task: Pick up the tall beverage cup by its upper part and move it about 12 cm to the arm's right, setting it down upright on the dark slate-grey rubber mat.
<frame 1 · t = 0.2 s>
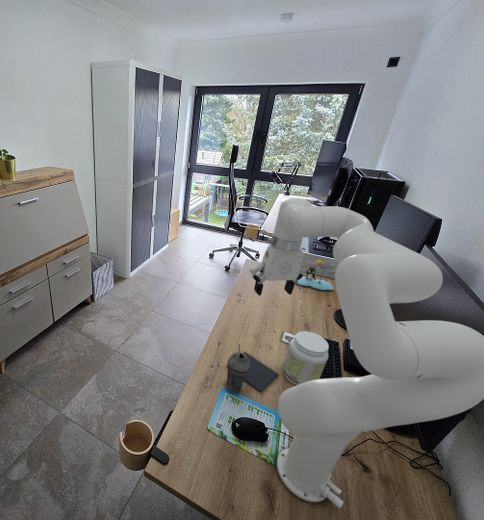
hand: (272, 292, 90), 37 cm above the table, tool pointing down, fingers open, 9 cm apart
supplement tub: (298, 375, 107), on the table
penguin figurine: (312, 285, 164), on the table
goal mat: (252, 371, 109), on the table
beverage cup: (233, 388, 102), on the table
car cutout: (301, 344, 122), on the table
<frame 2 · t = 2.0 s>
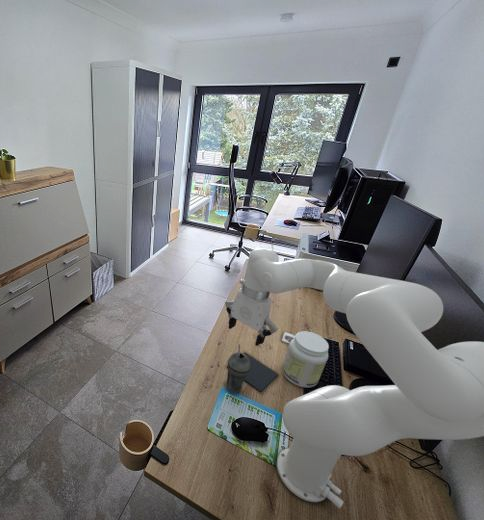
hand: (244, 335, 91), 24 cm above the table, tool pointing down, fingers open, 9 cm apart
nothing on the table moved.
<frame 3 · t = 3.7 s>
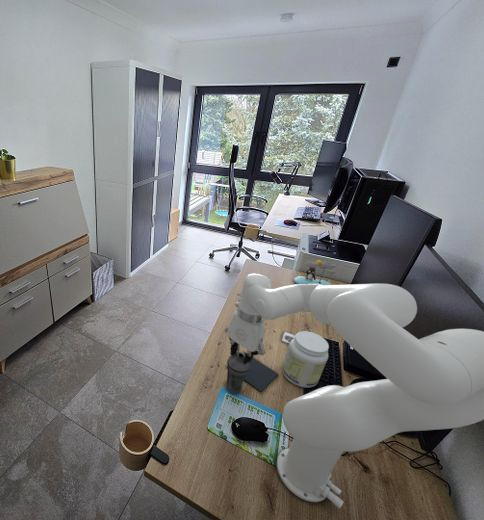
hand: (240, 356, 95), 15 cm above the table, tool pointing down, fingers closed on beverage cup, 4 cm apart
beverage cup: (233, 388, 102), on the table, touching gripper
everything else where it was.
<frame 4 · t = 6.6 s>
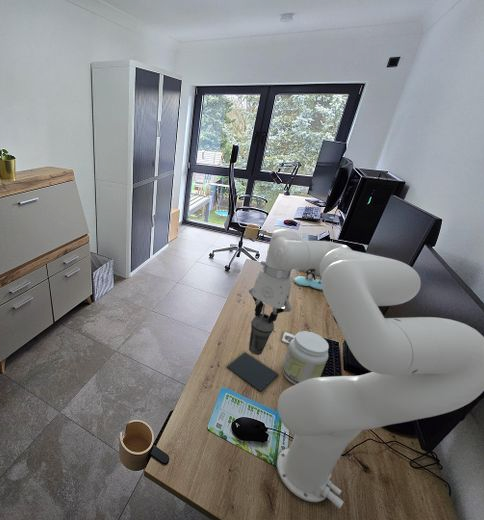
hand: (264, 317, 96), 26 cm above the table, tool pointing down, fingers closed on beverage cup, 4 cm apart
beverage cup: (255, 350, 103), point 11 cm above the table, touching gripper
everything else where it was.
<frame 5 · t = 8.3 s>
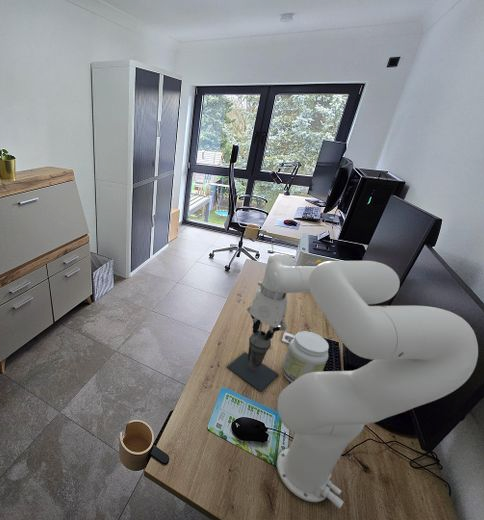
hand: (261, 334, 101), 18 cm above the table, tool pointing down, fingers closed on beverage cup, 4 cm apart
beverage cup: (253, 365, 108), point 3 cm above the table, touching gripper
everything else where it was.
when the fingers open (15 cm above the table, at t = 9.4 s): beverage cup stays where it is, resting on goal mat.
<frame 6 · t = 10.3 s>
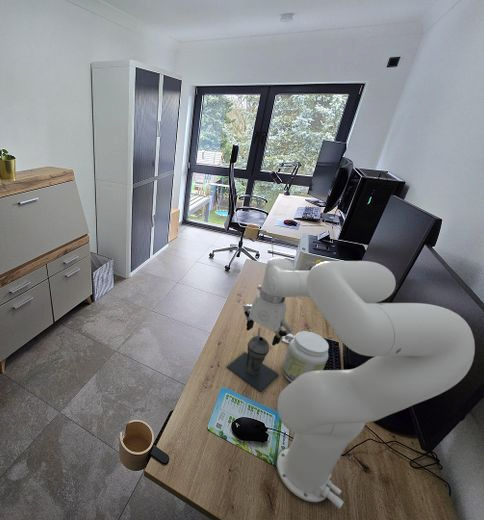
hand: (261, 336, 101), 17 cm above the table, tool pointing down, fingers open, 9 cm apart
beverage cup: (252, 370, 109), resting on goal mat
everything else where it was.
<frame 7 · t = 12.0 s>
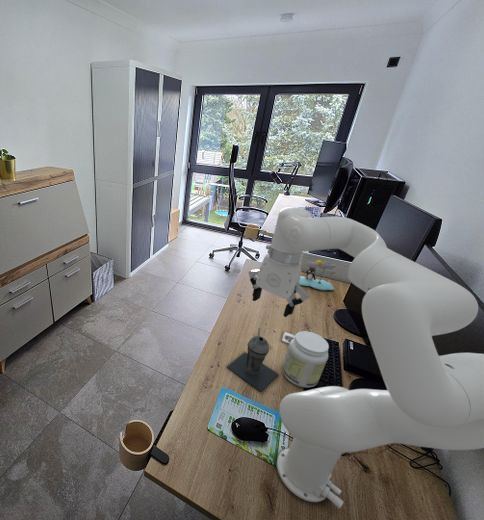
hand: (270, 306, 85), 36 cm above the table, tool pointing down, fingers open, 9 cm apart
nothing on the table moved.
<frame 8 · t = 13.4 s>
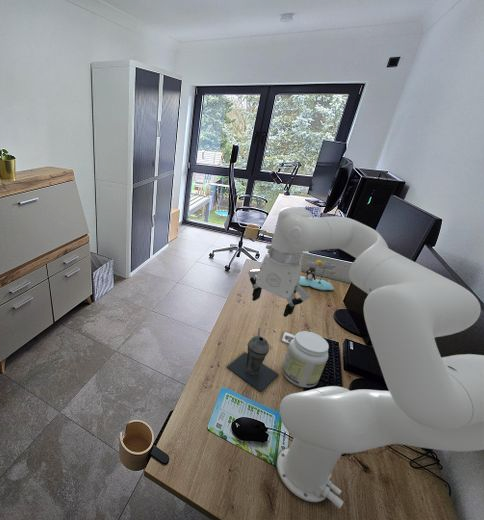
hand: (270, 306, 84), 36 cm above the table, tool pointing down, fingers open, 9 cm apart
nothing on the table moved.
at the end: beverage cup inside the target area (0.1 cm from its centre), resting on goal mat; beverage cup tilted 0°; beverage cup moved 12.0 cm from its start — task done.
